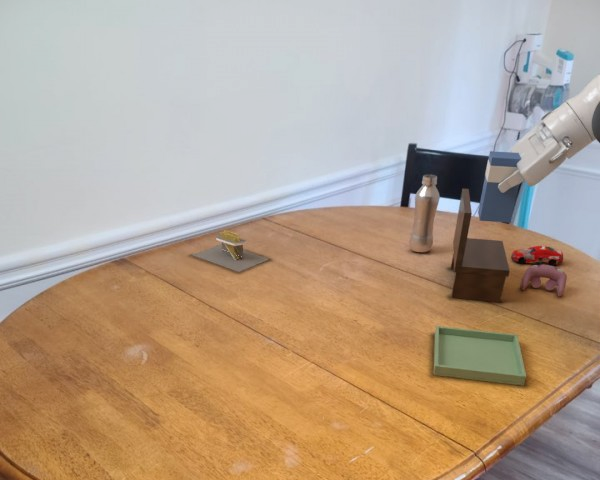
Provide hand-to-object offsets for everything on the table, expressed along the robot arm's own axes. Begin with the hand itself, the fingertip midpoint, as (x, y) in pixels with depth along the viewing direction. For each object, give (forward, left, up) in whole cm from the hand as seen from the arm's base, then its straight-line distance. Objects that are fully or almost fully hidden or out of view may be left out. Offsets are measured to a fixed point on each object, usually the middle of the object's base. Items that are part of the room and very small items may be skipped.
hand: (497, 184), depth 112 cm
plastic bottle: (+13, -36, -28) cm, 47 cm away
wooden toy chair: (-1, -16, -28) cm, 32 cm away
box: (-1, 0, -6) cm, 7 cm away
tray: (0, +21, -28) cm, 35 cm away
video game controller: (-17, -16, -28) cm, 36 cm away
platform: (+63, -19, -28) cm, 71 cm away
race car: (-18, -35, -28) cm, 48 cm away
